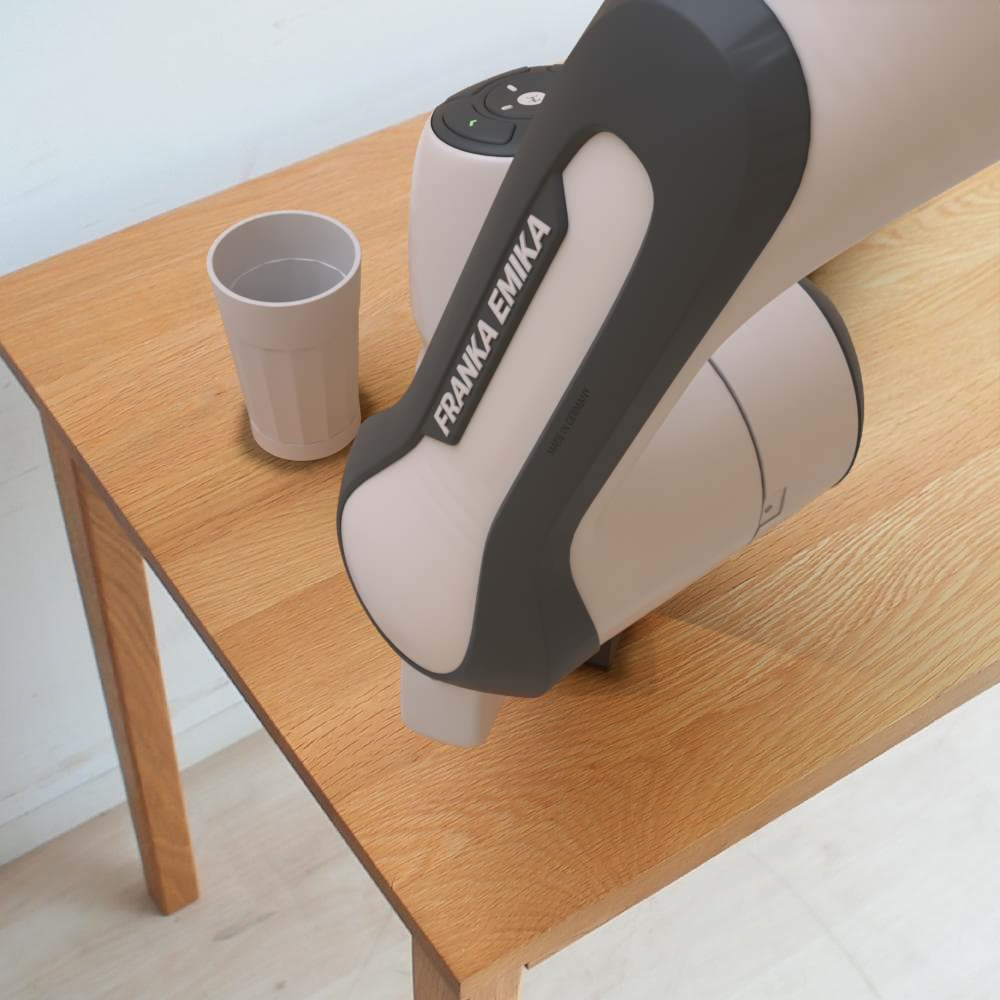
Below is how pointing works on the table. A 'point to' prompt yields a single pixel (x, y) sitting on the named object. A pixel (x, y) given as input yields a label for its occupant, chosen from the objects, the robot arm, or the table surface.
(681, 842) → the table surface
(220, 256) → the cup
